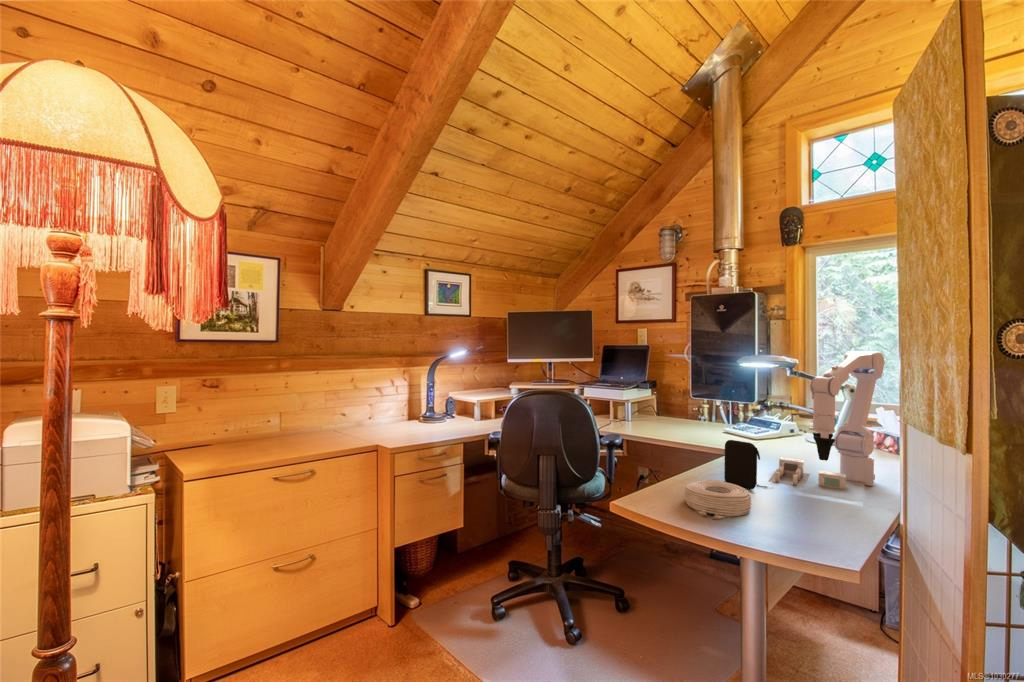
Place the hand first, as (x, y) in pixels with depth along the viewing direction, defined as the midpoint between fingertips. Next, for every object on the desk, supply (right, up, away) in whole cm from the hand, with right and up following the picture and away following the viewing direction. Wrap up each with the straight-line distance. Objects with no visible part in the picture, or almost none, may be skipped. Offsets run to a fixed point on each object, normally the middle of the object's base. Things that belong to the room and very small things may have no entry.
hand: (822, 457), depth 152 cm
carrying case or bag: (-26, -10, 0) cm, 27 cm away
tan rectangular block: (-2, -9, +13) cm, 16 cm away
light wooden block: (+3, -10, 0) cm, 10 cm away
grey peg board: (-5, -10, +9) cm, 14 cm away
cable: (-41, -10, -17) cm, 46 cm away
